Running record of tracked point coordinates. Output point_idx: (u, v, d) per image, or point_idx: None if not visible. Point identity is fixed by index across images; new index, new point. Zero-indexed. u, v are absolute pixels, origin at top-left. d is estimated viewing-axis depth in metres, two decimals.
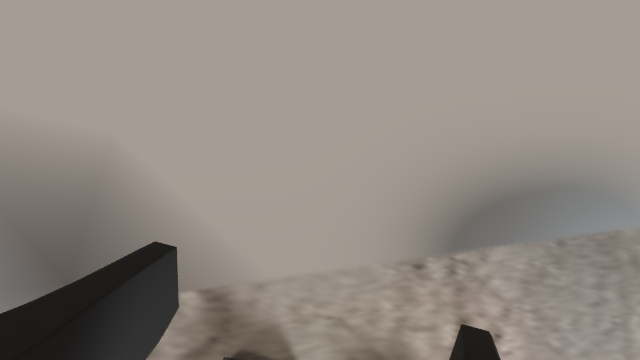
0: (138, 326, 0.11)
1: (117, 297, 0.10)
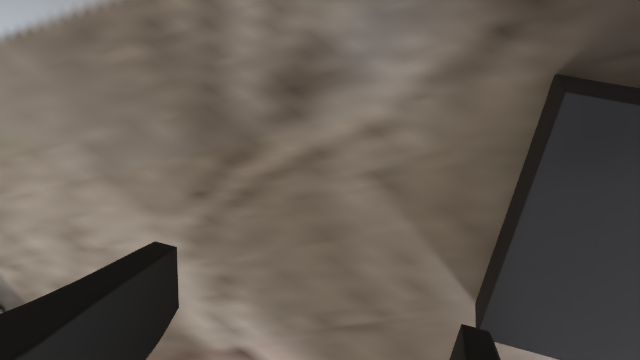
0: (138, 326, 0.11)
1: (117, 297, 0.10)
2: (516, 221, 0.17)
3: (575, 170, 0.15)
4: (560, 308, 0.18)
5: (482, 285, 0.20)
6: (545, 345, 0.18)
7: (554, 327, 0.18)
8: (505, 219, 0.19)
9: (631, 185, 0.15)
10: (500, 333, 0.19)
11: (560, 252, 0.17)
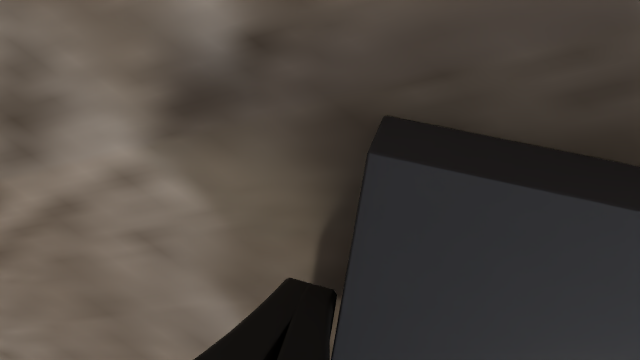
0: None
1: (278, 345, 0.10)
2: (336, 332, 0.11)
3: (402, 269, 0.10)
4: None
5: None
6: None
7: None
8: None
9: (486, 296, 0.10)
10: None
11: None
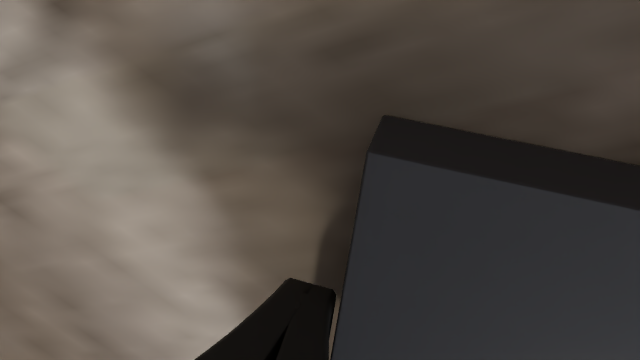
0: None
1: (279, 345, 0.10)
2: None
3: (401, 268, 0.10)
4: None
5: None
6: None
7: None
8: None
9: (485, 294, 0.10)
10: None
11: None
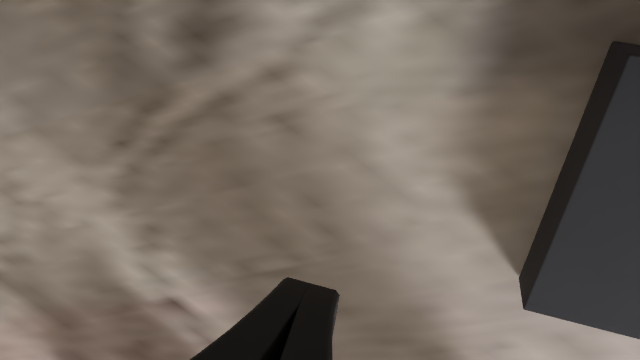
0: None
1: (275, 344, 0.10)
2: (571, 190, 0.17)
3: (635, 136, 0.15)
4: (611, 279, 0.18)
5: (527, 259, 0.20)
6: (594, 317, 0.18)
7: (605, 297, 0.18)
8: (554, 191, 0.19)
9: None
10: (548, 305, 0.19)
11: (615, 220, 0.17)
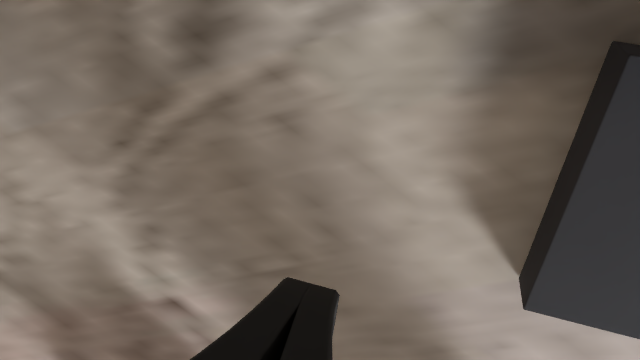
0: None
1: (276, 344, 0.10)
2: (571, 190, 0.17)
3: (635, 136, 0.15)
4: (612, 279, 0.18)
5: (527, 259, 0.20)
6: (594, 317, 0.18)
7: (605, 297, 0.18)
8: (554, 191, 0.19)
9: None
10: (548, 305, 0.19)
11: (615, 220, 0.17)
